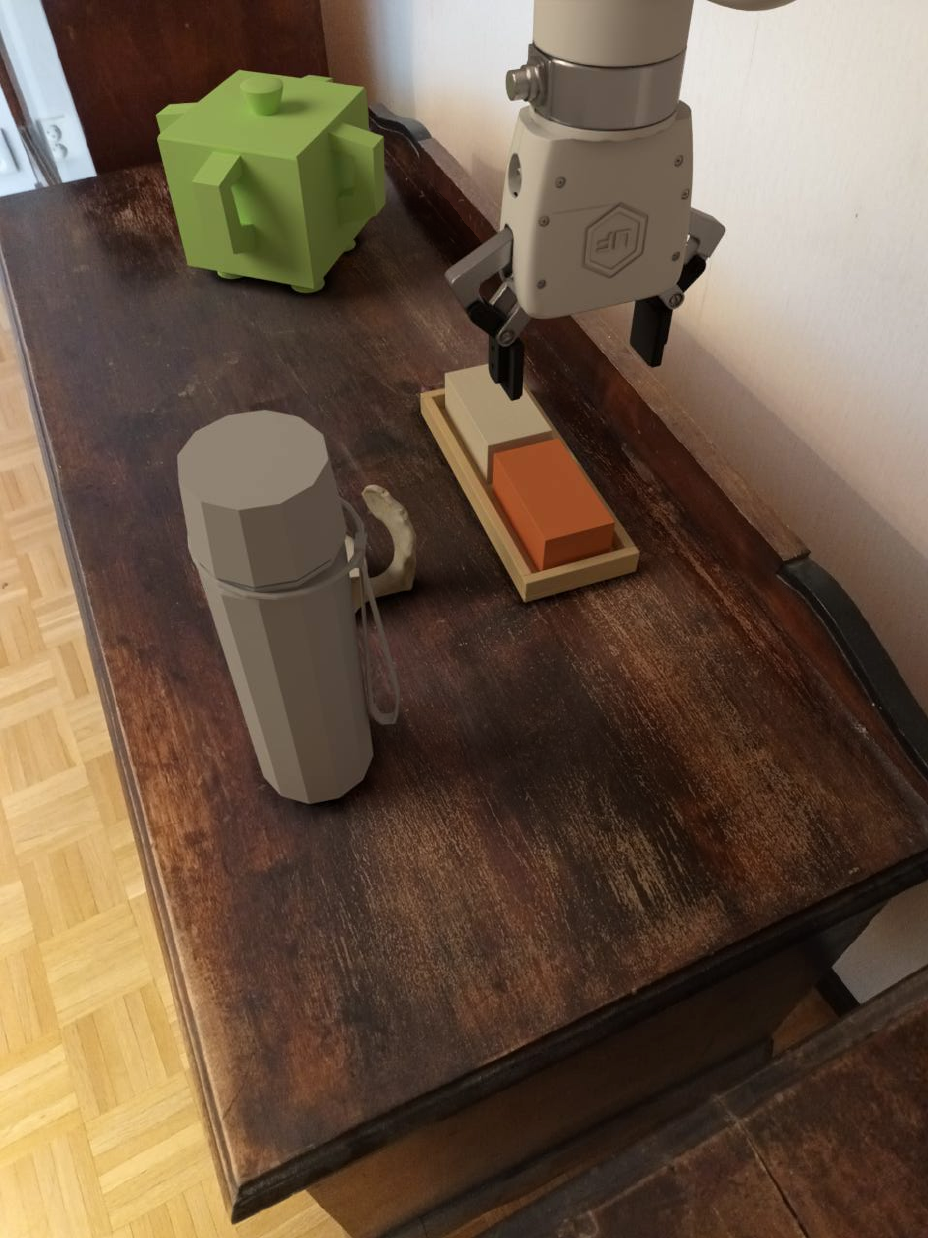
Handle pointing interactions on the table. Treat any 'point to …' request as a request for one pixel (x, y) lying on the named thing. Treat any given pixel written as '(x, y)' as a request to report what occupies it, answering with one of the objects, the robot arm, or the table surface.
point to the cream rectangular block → (490, 417)
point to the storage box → (272, 176)
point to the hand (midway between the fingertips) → (577, 371)
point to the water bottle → (285, 597)
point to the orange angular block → (551, 505)
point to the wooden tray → (499, 526)
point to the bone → (404, 542)
